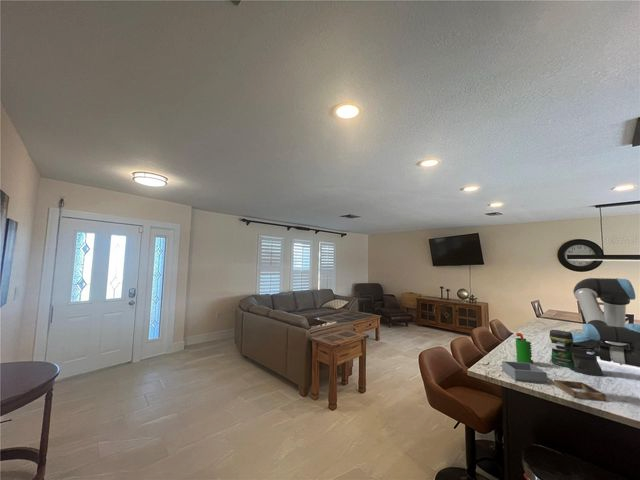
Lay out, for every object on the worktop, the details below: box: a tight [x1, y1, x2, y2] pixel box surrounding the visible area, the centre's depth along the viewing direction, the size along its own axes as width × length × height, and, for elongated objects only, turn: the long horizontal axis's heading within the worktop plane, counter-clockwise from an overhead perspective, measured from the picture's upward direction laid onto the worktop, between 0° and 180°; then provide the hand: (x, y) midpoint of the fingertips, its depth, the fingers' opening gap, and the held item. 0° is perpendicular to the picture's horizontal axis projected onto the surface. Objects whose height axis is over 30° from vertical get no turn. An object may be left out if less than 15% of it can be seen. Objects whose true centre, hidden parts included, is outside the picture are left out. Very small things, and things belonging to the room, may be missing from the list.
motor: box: [515, 332, 534, 365], centre depth 180 cm, size 10×9×20 cm
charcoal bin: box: [501, 360, 548, 384], centre depth 155 cm, size 16×16×6 cm
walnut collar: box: [553, 379, 607, 402], centre depth 134 cm, size 13×15×3 cm
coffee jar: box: [549, 329, 576, 369], centre depth 140 cm, size 10×8×19 cm
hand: (550, 343), depth 144 cm, fingers closed on coffee jar, 8 cm apart
